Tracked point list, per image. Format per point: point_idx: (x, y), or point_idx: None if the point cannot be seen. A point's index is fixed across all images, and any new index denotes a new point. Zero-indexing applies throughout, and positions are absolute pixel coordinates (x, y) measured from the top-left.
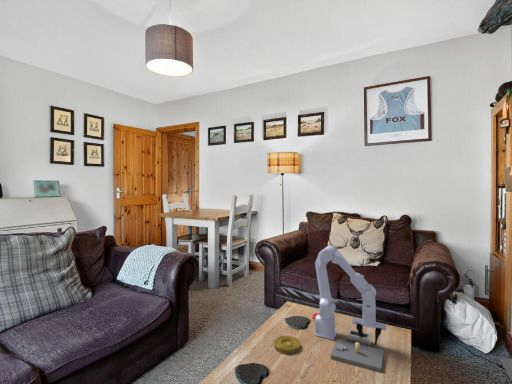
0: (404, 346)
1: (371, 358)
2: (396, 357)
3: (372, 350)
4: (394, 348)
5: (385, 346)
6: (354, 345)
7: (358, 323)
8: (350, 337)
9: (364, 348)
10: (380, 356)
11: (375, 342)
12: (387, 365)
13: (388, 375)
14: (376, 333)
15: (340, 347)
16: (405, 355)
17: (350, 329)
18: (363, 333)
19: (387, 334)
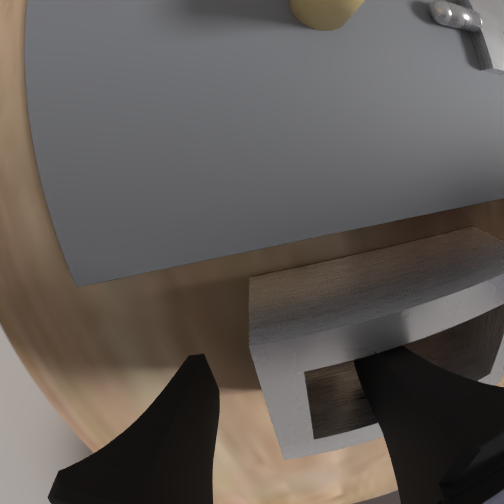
0: (77, 427)
1: (120, 7)
2: (18, 280)
3: (163, 189)
4: (91, 391)
5: (146, 390)
6: (417, 158)
7: (500, 495)
8: (493, 259)
9: (279, 164)
10: (50, 130)
11: (188, 367)
12: (17, 101)
13: (9, 5)
14: (117, 475)
15: (487, 8)
16: (12, 340)
17: (491, 384)
18: (368, 423)
19: (214, 486)
